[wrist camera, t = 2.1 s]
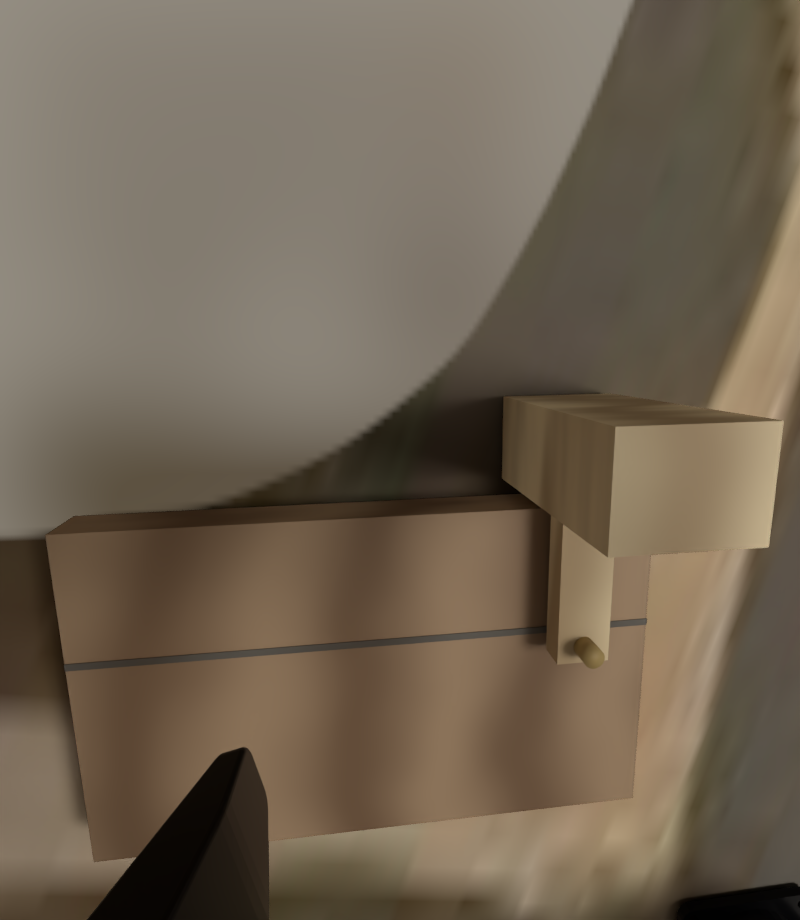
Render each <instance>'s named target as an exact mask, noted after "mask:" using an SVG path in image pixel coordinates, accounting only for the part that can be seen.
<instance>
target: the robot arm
mask: <svg viewBox="0 0 800 920" xmlns="http://www.w3.org/2000/svg"><path fill="white" fill-rule="evenodd" d="M87 920H269V838H268V801H267V795H266V791H265V788H264V785H263V783H262V780H261V777H260V775H259V772H258V769H257V767H256V764H255V761H254V758H253V756H252V753H251V752H250V750H249V749H248V748H246V747H241V748H238V749H234V750H231V751H228V752H225V753H222V754H220V755H219V756H218V757H217V758H216V759H215V760H214V761H213V763H212V764H211V765H210V766H209V768H208V769H207V770H206V771H205V773H204V774H203V775H202V776H201V778H200V779H199V780H198V781H197V783H196V784H195V785H194V786H193V788H192V789H191V790H190V791H189V793H188V794H187V795H186V796H185V798H184V799H183V800H182V801H181V803H180V804H179V805H178V806H177V808H176V809H175V810H174V811H173V813H172V814H171V815H170V816H169V818H168V819H167V820H166V821H165V823H164V824H163V825H162V826H161V828H160V829H159V830H158V831H157V833H156V834H155V835H154V836H153V838H152V839H151V840H150V841H149V843H148V844H147V845H146V846H145V848H144V849H143V850H142V851H141V853H140V854H139V855H138V856H137V858H136V859H135V860H134V861H133V863H132V864H131V865H130V866H129V868H128V869H127V870H126V871H125V873H124V874H123V875H122V876H121V878H120V879H119V880H118V881H117V883H116V884H115V885H114V886H113V888H112V889H111V890H110V891H109V893H108V894H107V895H106V896H105V898H104V899H103V900H102V901H101V903H100V904H99V905H98V906H97V908H96V909H95V910H94V911H93V913H92V914H91V915H90V916H89V918H88V919H87ZM677 920H800V887H790V888H783V889H777V890H770V891H763V892H756V893H749V894H742V895H735V896H728V897H721V898H714V899H707V900H700V901H693V902H687V903H684V904H683V905H681V906H680V908H679V909H678V912H677Z"/></svg>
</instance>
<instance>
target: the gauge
mask: <svg viewBox="0 0 800 920" xmlns="http://www.w3.org/2000/svg"><path fill="white" fill-rule="evenodd" d="M783 423H784V421H782V420H776V419H769V418H763V417H757V416H750V415H744V414H738V413H731V412H725V411H719V410H712V409H706V408H699V407H693V406H687V405H680V404H674V403H668V402H661V401H655V400H649V399H642V398H636V397H630V396H623V395H617V394H611V393H607V394H572V395H537V396H504V397H503V449H502V479H503V480H505V481H506V482H507V483H509V484H510V485H511V486H513V487H514V488H515V489H517V490H518V491H519V492H521V493H522V494H523V495H525V496H526V497H527V498H529V499H530V500H531V501H533V502H534V503H535V504H537V505H538V506H539V507H541V508H542V509H543V510H545V511H546V512H547V513H549V514H550V515H551V529H550V556H549V582H548V609H547V636H546V650H547V651H548V653H549V654H550V655H551V657H552V658H553V660H554V661H555V662H556V664H557V665H559V664H570V663H582V662H583V663H584V664H585V665H586V666H587V667H588V668H590V669H596V668H598V667H600V666H601V665H602V664H603V662H604V661H605V660H608V650H609V634H610V617H611V601H612V585H613V568H614V557H627V556H642V555H658V554H673V553H688V552H704V551H719V550H735V549H750V548H765V547H769V541H770V533H771V524H772V516H773V507H774V499H775V491H776V482H777V474H778V465H779V457H780V448H781V440H782V431H783Z"/></svg>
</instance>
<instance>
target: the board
mask: <svg viewBox="0 0 800 920" xmlns="http://www.w3.org/2000/svg"><path fill="white" fill-rule="evenodd" d="M550 529H551V515H550V514H549V513H547V512H546V511H545V510H543V509H542V508H541V507H539V506H538V505H537V504H535V503H534V502H533V501H531V500H530V499H529V498H527V497H526V496H525V495H523V494H508V495H488V496H468V497H448V498H427V499H407V500H387V501H367V502H347V503H327V504H307V505H287V506H267V507H247V508H227V509H207V510H187V511H167V512H147V513H127V514H107V515H87V516H73V517H72V518H70V519H69V520H67V521H66V522H64V523H63V524H61V525H60V526H58V527H57V528H55V529H54V530H52V531H51V532H49V533H48V534H46V535H45V537H46V544H47V551H48V557H49V564H50V571H51V577H52V584H53V591H54V598H55V604H56V611H57V618H58V624H59V631H60V638H61V645H62V651H63V658H64V669H65V672H66V678H67V685H68V692H69V698H70V705H71V712H72V719H73V725H74V732H75V739H76V745H77V752H78V759H79V766H80V772H81V779H82V786H83V792H84V799H85V806H86V813H87V819H88V826H89V833H90V839H91V846H92V853H93V860H94V862H99V861H107V860H115V859H124V858H132V857H137V856H138V855H139V854H140V853H141V851H142V850H143V849H144V848H145V846H146V845H147V844H148V843H149V841H150V840H151V839H152V838H153V836H154V835H155V834H156V833H157V831H158V830H159V829H160V828H161V826H162V825H163V824H164V823H165V821H166V820H167V819H168V818H169V816H170V815H171V814H172V813H173V811H174V810H175V809H176V808H177V806H178V805H179V804H180V803H181V801H182V800H183V799H184V798H185V796H186V795H187V794H188V793H189V791H190V790H191V789H192V788H193V786H194V785H195V784H196V783H197V781H198V780H199V779H200V778H201V776H202V775H203V774H204V773H205V771H206V770H207V769H208V768H209V766H210V765H211V764H212V763H213V761H214V760H215V759H216V758H217V757H218V756H219V755H220V754H222V753H225V752H228V751H231V750H234V749H238V748H241V747H246V748H248V749H249V750H250V752H251V753H252V756H253V758H254V761H255V764H256V767H257V769H258V772H259V775H260V777H261V780H262V783H263V785H264V788H265V791H266V795H267V801H268V838H269V841H275V840H283V839H292V838H300V837H309V836H317V835H325V834H334V833H342V832H351V831H359V830H367V829H376V828H384V827H393V826H401V825H409V824H418V823H426V822H435V821H443V820H451V819H460V818H468V817H477V816H485V815H493V814H502V813H510V812H519V811H527V810H535V809H544V808H552V807H561V806H569V805H577V804H586V803H594V802H603V801H611V800H619V799H628V798H633V788H634V775H635V761H636V748H637V735H638V721H639V708H640V694H641V681H642V668H643V654H644V641H645V628H646V623H647V618H646V614H647V601H648V588H649V574H650V561H651V555H642V556H627V557H614V568H613V585H612V601H611V617H610V634H609V650H608V660H605V661H604V662H603V664H602V665H601V666H600V667H598V668H596V669H590V668H588V667H587V666H586V665H585V664H584V663H583V662H582V663H570V664H559V665H557V664H556V662H555V661H554V660H553V658H552V657H551V655H550V654H549V653H548V651H547V650H546V636H547V609H548V582H549V556H550Z"/></svg>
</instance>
